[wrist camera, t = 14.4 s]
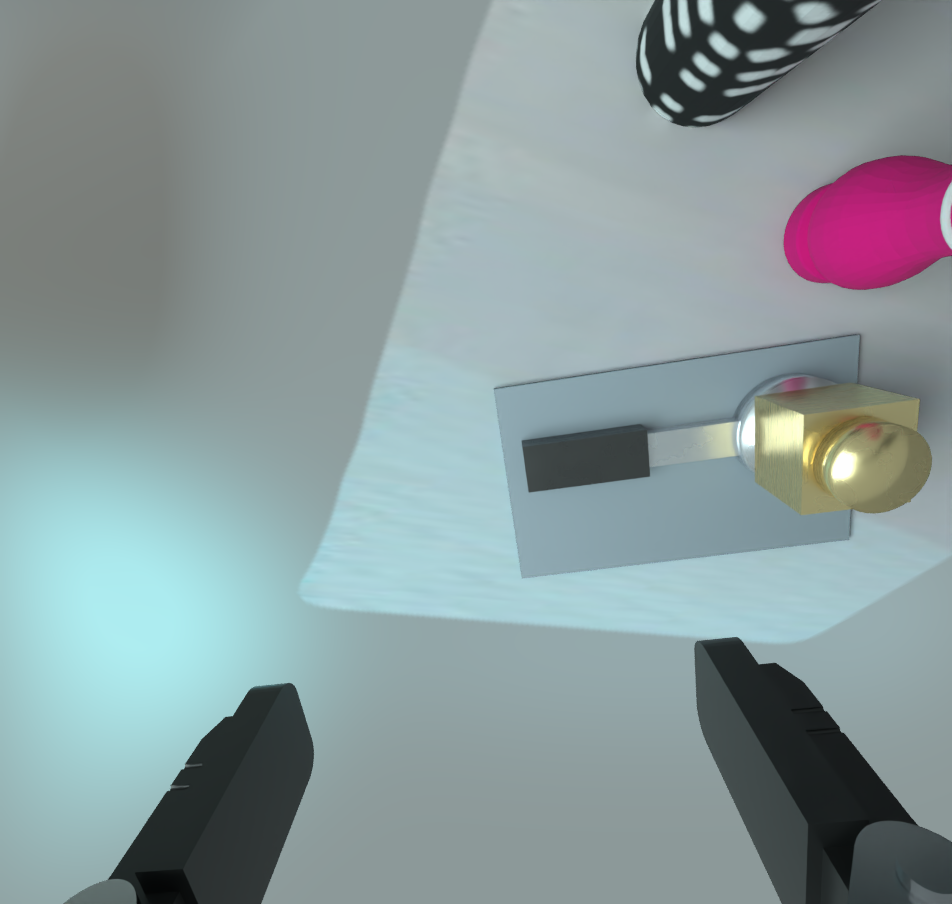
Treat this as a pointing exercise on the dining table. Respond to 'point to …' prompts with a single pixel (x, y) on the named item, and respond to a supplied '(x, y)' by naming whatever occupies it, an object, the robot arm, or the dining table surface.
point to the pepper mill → (873, 224)
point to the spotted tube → (729, 50)
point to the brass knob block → (840, 448)
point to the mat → (670, 486)
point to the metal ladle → (650, 444)
